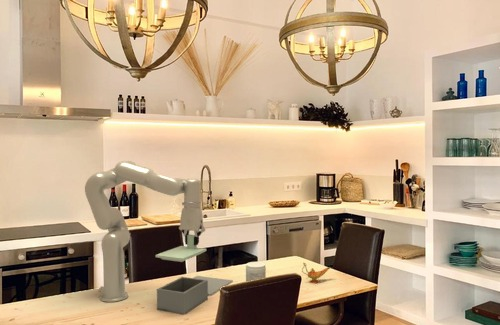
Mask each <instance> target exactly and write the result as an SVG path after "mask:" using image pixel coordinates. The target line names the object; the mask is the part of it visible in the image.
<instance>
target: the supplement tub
mask: <svg viewBox="0 0 500 325" xmlns="http://www.w3.org/2000/svg"><path fill="white" fill-rule="evenodd" d="M266 269H267V268H266V263H264V262H262V261H250V262H247V263H246V264H245V282H246V281H251V280H257V279H262V278H266V277H267V276H266V272H267V270H266ZM266 279H267V278H266Z"/></svg>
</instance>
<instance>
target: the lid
mask: <svg viewBox="0 0 500 325" xmlns="http://www.w3.org/2000/svg"><path fill="white" fill-rule="evenodd" d="M194 237H195V234H190V233H189V235H187V245H186V246H184V245H179V246H177V247H174V248H171V249H168V250H166V251H163V252H160V253H158V254H155V258H159V259H161V260H163V261H173V262H180V263H183V262H184V261H187V260H189V259H192V258H194V257H196V256H199V255H201V254H203V253H205V252H207V248H203V247H202V248H201V247H198V246H197V245H196V246H195V245H194Z"/></svg>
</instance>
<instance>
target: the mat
mask: <svg viewBox="0 0 500 325" xmlns="http://www.w3.org/2000/svg"><path fill="white" fill-rule="evenodd" d="M193 278H195V279H202V280H208V296H213V295H215V294H216V293H217V292H219V291H220V288H221V287H223V286H225V287H227V286H229V285H230V284H231V283H233V282H234V280H232V279H226V278H225V279H223V278H217V277H210V276H201V275H196V276H193ZM226 285H227V286H226Z"/></svg>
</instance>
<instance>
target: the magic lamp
mask: <svg viewBox="0 0 500 325" xmlns="http://www.w3.org/2000/svg"><path fill="white" fill-rule="evenodd" d="M302 264H303V267H302V268H301V272H302V273H303V274H305V275H306V276H307V278H309V279H310V280H309V281H308V283H310V284H319V283H320V281H319V280H318V279H319V278H321V277H323V275H325V274H326V273H327V272H328V271H329V269H331V268H332V267H331V266H329V267H326V268H324V269H322V270H319V271H316V270H314V268H313V267H312V268H311V269H310V271H308V269H307V264H306V262H303V263H302ZM304 268H305V271H306V272H304Z"/></svg>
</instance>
